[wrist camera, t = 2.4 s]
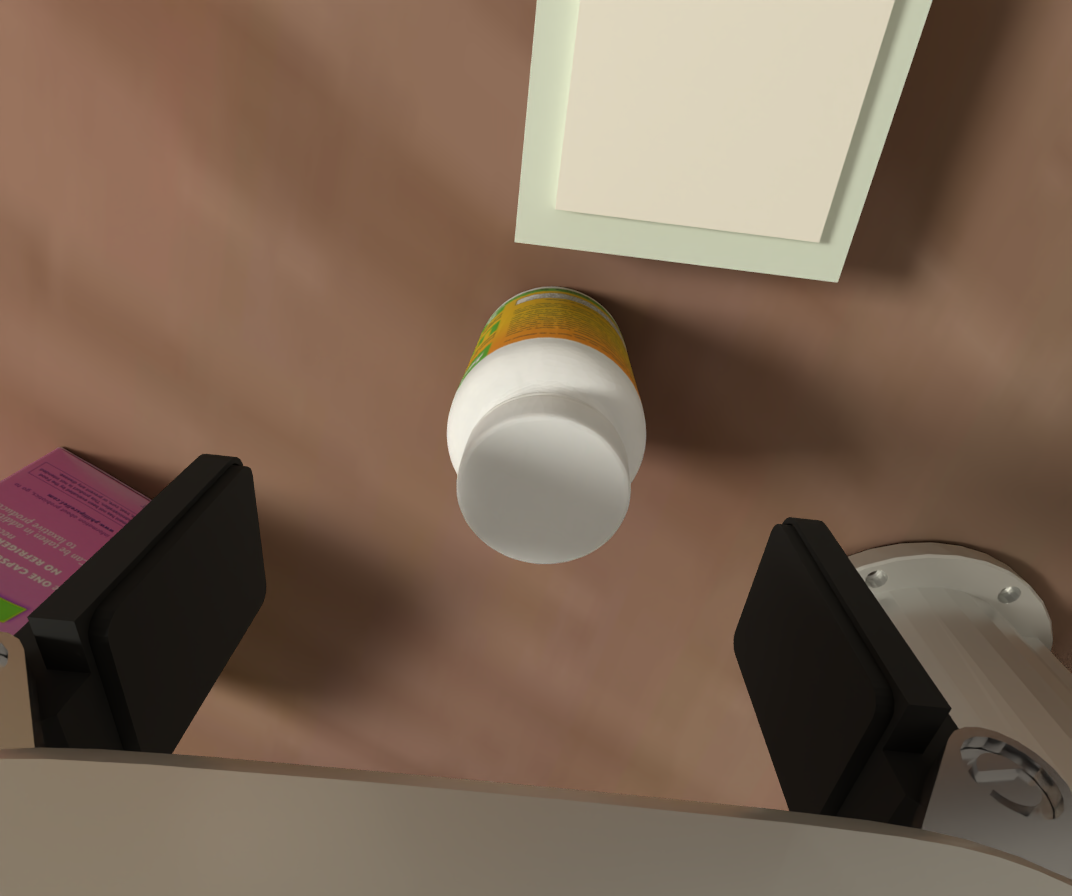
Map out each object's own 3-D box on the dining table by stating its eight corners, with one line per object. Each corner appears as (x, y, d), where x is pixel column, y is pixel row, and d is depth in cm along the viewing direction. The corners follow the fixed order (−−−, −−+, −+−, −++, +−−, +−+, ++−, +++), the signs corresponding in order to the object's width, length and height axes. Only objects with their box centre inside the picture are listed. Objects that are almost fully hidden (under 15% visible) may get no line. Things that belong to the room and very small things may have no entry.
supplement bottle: (484, 273, 21) (427, 367, 12) (638, 293, 21) (688, 400, 12) (473, 414, 24) (419, 575, 15) (611, 432, 24) (637, 602, 15)
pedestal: (891, -87, 16) (995, -160, 12) (790, 257, 20) (843, 285, 16) (558, -132, 16) (556, -219, 12) (523, 224, 20) (513, 244, 16)
